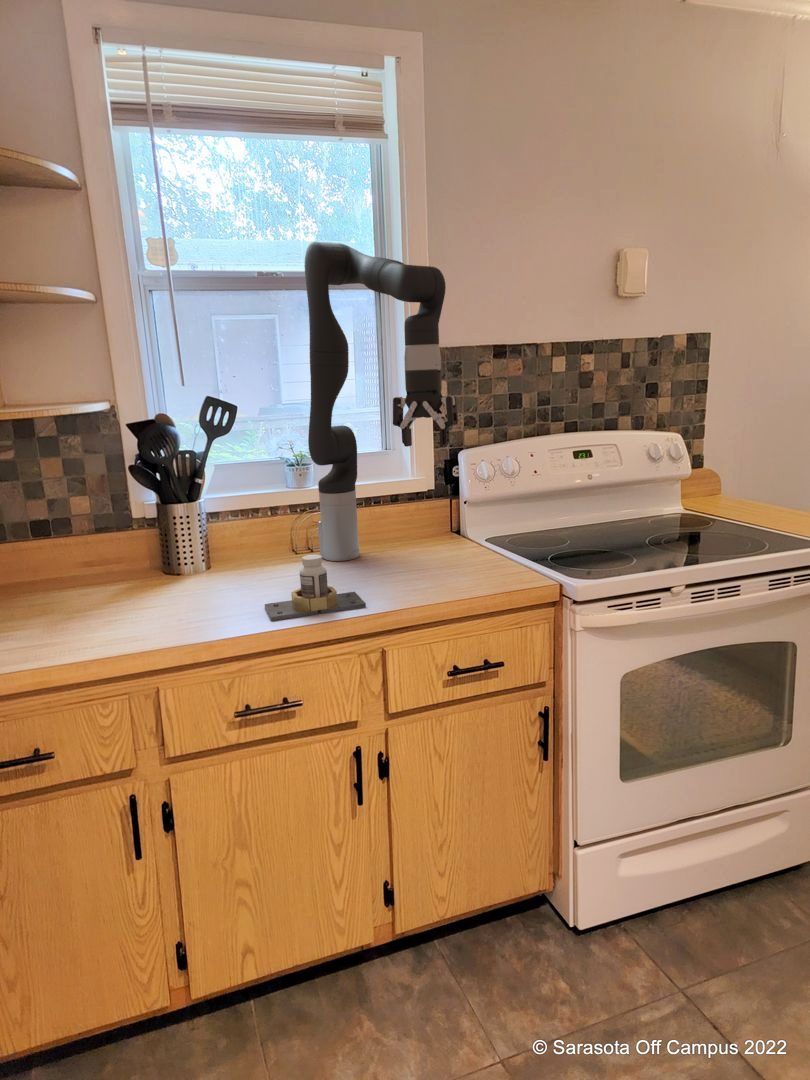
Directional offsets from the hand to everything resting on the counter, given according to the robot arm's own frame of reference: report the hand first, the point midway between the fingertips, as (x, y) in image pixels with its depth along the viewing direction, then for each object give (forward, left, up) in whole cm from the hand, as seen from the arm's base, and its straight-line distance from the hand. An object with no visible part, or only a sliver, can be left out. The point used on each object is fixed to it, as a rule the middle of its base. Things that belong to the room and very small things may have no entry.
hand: (425, 446), depth 153 cm
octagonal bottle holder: (-14, -24, -30) cm, 41 cm away
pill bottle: (-14, -24, -30) cm, 40 cm away
